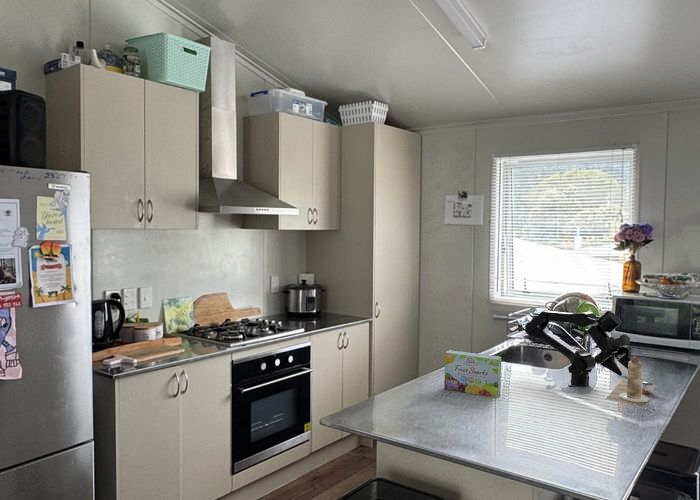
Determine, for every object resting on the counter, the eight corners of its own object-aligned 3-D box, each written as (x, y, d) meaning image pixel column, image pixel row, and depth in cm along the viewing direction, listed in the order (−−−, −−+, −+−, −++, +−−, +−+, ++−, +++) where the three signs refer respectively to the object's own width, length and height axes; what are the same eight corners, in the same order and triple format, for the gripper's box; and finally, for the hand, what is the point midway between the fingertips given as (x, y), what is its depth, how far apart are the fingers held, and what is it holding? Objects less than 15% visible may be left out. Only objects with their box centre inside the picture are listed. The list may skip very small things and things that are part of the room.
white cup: (631, 380, 249) (632, 364, 248) (614, 377, 253) (615, 361, 252) (635, 377, 254) (635, 361, 254) (618, 374, 258) (619, 359, 258)
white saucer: (635, 403, 211) (635, 402, 211) (613, 396, 220) (613, 394, 220) (654, 401, 215) (654, 399, 215) (632, 393, 224) (632, 392, 224)
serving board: (643, 409, 209) (643, 405, 209) (604, 402, 216) (605, 399, 216) (656, 388, 236) (656, 385, 236) (621, 383, 244) (622, 380, 244)
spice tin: (647, 395, 222) (648, 384, 222) (638, 392, 226) (639, 381, 226) (655, 394, 224) (656, 383, 224) (646, 391, 228) (646, 380, 228)
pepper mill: (625, 397, 217) (627, 357, 216) (626, 394, 221) (628, 354, 221) (640, 399, 214) (642, 358, 214) (641, 396, 219) (643, 356, 218)
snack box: (443, 389, 228) (444, 351, 227) (448, 386, 233) (449, 349, 232) (497, 398, 218) (498, 358, 218) (500, 394, 223) (502, 355, 223)
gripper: (603, 329, 217) (630, 365, 209) (628, 325, 228) (655, 359, 220) (583, 346, 224) (608, 381, 216) (608, 341, 235) (633, 374, 227)
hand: (627, 373), depth 219 cm, fingers open, 9 cm apart
